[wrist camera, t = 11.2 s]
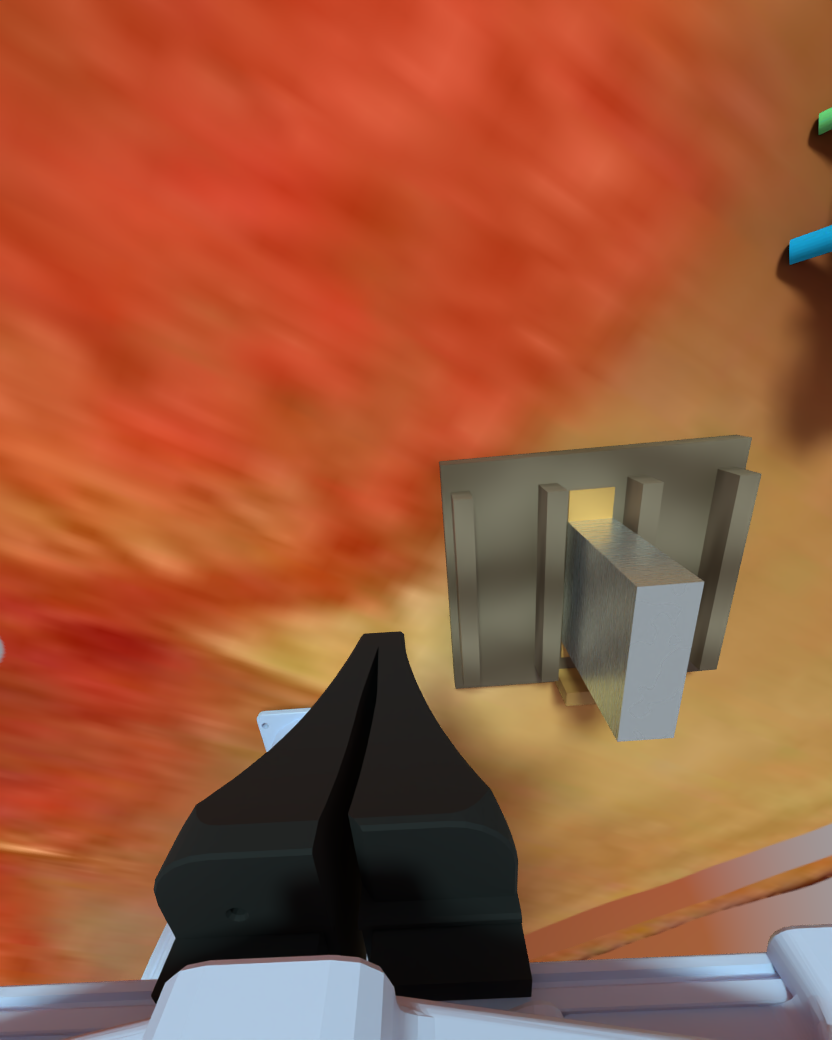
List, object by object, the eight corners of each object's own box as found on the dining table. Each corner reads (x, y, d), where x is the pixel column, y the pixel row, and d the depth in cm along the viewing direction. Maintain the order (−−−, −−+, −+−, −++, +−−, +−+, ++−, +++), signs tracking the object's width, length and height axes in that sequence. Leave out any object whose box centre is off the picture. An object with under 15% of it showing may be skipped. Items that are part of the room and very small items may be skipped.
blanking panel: (602, 638, 24) (673, 737, 17) (561, 641, 24) (617, 741, 17) (613, 517, 21) (704, 581, 14) (567, 521, 21) (637, 586, 14)
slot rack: (691, 660, 26) (725, 694, 23) (454, 677, 26) (459, 713, 23) (736, 434, 20) (787, 444, 18) (439, 461, 21) (443, 474, 18)
